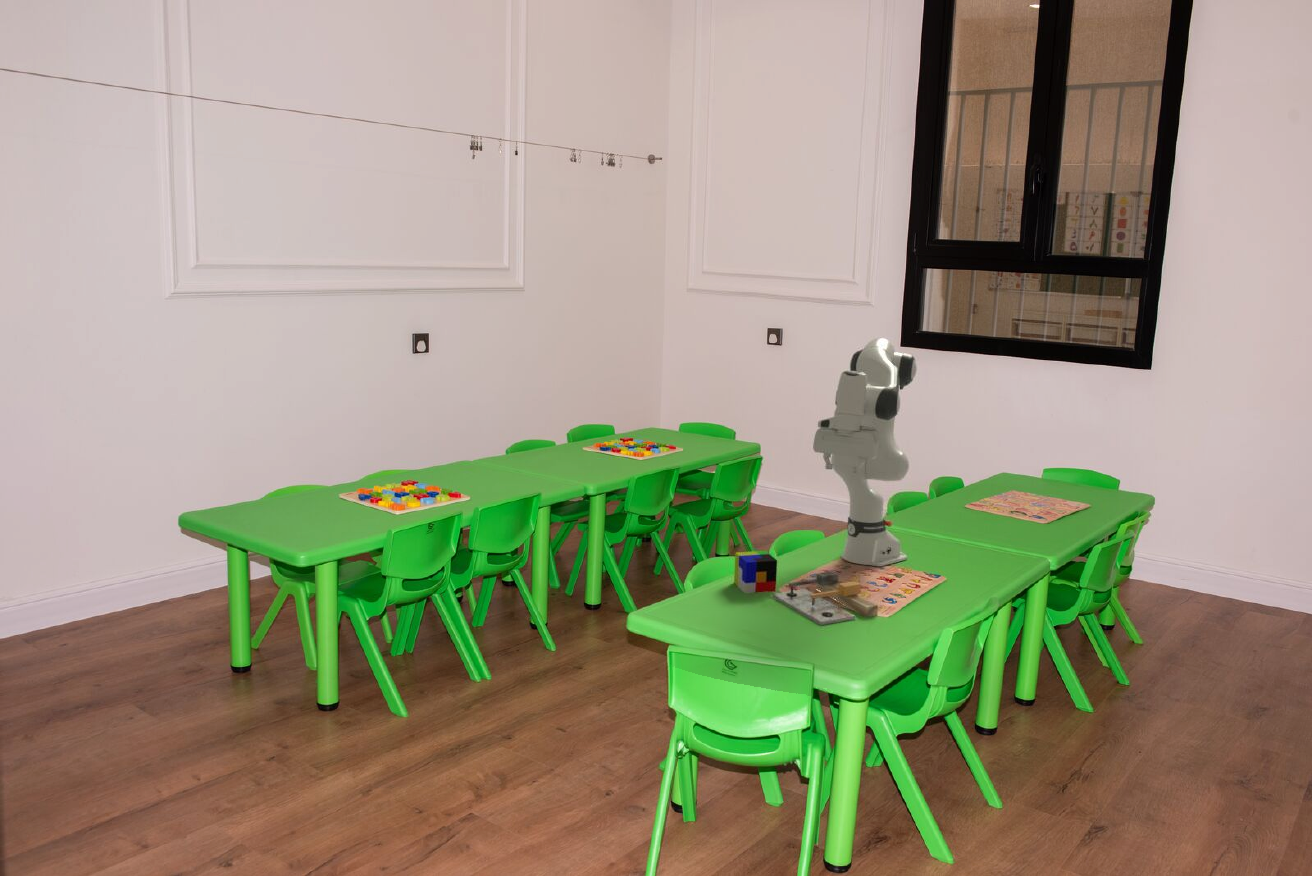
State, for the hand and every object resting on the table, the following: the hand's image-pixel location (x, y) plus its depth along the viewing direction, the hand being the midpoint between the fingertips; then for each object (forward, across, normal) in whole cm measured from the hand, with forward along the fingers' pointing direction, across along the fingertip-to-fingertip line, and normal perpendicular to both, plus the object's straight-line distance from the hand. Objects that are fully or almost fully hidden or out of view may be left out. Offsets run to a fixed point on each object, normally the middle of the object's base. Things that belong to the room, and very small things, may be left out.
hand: (842, 471), depth 310 cm
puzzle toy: (+40, +25, +1) cm, 47 cm away
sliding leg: (+39, -2, -1) cm, 39 cm away
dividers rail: (+40, 0, -2) cm, 40 cm away
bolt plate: (+41, +2, +4) cm, 41 cm away
